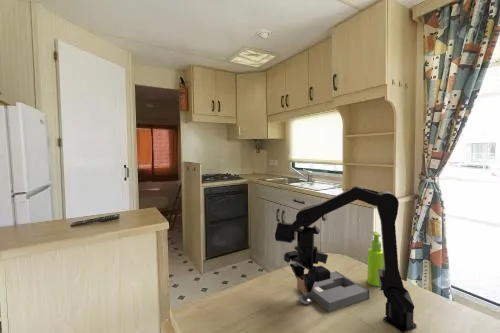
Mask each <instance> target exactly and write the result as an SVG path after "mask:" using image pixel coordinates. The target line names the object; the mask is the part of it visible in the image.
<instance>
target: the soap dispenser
mask: <svg viewBox="0 0 500 333" xmlns="http://www.w3.org/2000/svg"><path fill="white" fill-rule="evenodd" d="M370 234H372V235H373V240H371V247H369V248H368V249H367V283H368V284H369V285H371V286H373V287H379V288H380V285H379V281H378V280H379V272H378V269H383V265H384V260H383V249H382V241H380V240H379V239H380V237H381V234H380V233H379V232H377V231H370Z"/></svg>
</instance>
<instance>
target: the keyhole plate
mask: <svg viewBox="0 0 500 333" xmlns="http://www.w3.org/2000/svg"><path fill="white" fill-rule="evenodd" d="M344 286H345V287H344ZM308 296H310V297H311V298H312V299H313V301H314V302H316V303H317V304H319V306H321V307H322V308H323V309H324V310H326V311H327V312H328V313H331V312H334V311H336V310H340V309H342V308H345V307H349V306H351V305H354V304H357V303H360V302H362V301H365V300H368V299H370V289H368V288H366V287H365V286H364V285H362V284H359V283H358V282H357V281H354V280H352V279H351V278H349V277H348V276H345V275H344V274H342V273H340V272H338V271H330V279H327V280H324V281H320V282H315V283H314V291H311V292H308Z"/></svg>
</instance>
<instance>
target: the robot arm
mask: <svg viewBox="0 0 500 333" xmlns="http://www.w3.org/2000/svg"><path fill="white" fill-rule="evenodd" d="M355 201H360V202H363V203H365V204H368V205H371V206H375V207H376V209H377V212H378V213H377V214H378V216H379V220H380V232H381V248H382V250H383V260H384V265H383V269H378V272H379V280H378V281H379V285H380V287H379V289H380V290H379V291H381V292H382V294H383V295H384V297H385V299H386V302H385V316H384V317H383V318H382V319H383V321H384V322H386V323H388V324H389V325H391V326H392V327H394V328H395V329H396V330H398V331H400V332H401V333H406V332H408V331H410V330H412V329H414V328H416V327H417V326H418V325H417V323H415V322H414V312H415V311H414V309H415V305H414V302H413V300H412V297H411V295H410V292H409V291H408V290H407V288H405V287H404V286H405V285H404V283H403V279H402V277H401V274H400V269H399V260H398V257H399V256H398V246H397V245H398V244H397V242H398V241H397V230H396V222H397V218H398V214H399V212H398V211H399V207H400V206H399V205H400V204H399V203H400V202H399V199H398V198H397V197H396V196H395V194H393V193H392V192H390V191H389V190H382V191H381V190H380V191H377V190H374V189H369V188H364V187H361V186H359V185H354V186H352V187H351V188H349V189H347V190H345V191H343V192H341V193H339V194H337V195H335V196H333V197H331V198H329V199H327V200H325V201H323V202H321V203H317V204H312V205H308V206H304V207H303V208H301V209H299V211H298V212H297V213H296V216H295V220H293V222H292V223H289V222H283V221H278V222H277V223H276V229H275V232H274V238H275V241H276V242H282V243H288V244H292V243H293V242H294V241H296V245H294V250H293V251H292V250H291V251H287V252H285V253H284V255H283V261H284V262H286V263H287V264H288V263H290V262H291V263H290V264H289V267H290V269H291V270H292V272H293V274H294V276H295V278H296V279H297V276H301V275H303V276H304V280H305V284H306V288H307V291H308V292H311V290H312V288H313V285H314V283H315V282H320V281H324V280H327V279H330V273H331V271H330V270H329V269H328V268H326V267H325V266H323V265H318V264H319V263H323V264H324V265H326V263H327V260H328V257H329V254H327V253H325V252H323V251H321V250H318V247H317V246H315V235H319V234H320V232H321V230H320V229H319V228H318V226H317V225H316V224H314V223H316V222H317V221H319V220H320V219H321V218H322V217H324V216H326V215H327V214H330V213H331V212H333V211H336V210H338V209H340V208H342V207H345V206H347V205H349V204H350V203H354V202H355ZM313 224H314V225H313ZM312 225H313V226H312ZM315 265H317V266H315ZM305 270H307V273H305Z"/></svg>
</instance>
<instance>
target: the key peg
mask: <svg viewBox="0 0 500 333" xmlns="http://www.w3.org/2000/svg"><path fill="white" fill-rule="evenodd" d="M296 288H297V289H298V290H300V291H301V295H299V296H298V302H299V304H300V305H302V306H311V305H312V303H313V302H312V301H313V300H312V298H311V297H310V296H309V295H308V291H307V288H306V284H305V280H304V276H303V275H301V276H297V278H296ZM311 291H314V285H313V288H312V290H311Z"/></svg>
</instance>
